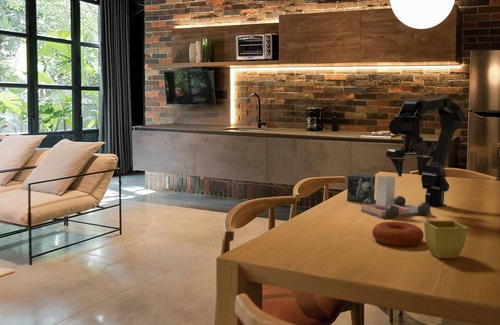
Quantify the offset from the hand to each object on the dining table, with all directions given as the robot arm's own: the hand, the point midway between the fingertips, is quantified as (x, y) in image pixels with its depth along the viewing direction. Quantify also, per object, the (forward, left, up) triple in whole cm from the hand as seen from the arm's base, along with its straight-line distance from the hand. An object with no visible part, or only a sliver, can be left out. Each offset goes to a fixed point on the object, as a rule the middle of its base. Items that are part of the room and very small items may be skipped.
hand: (410, 175), depth 212 cm
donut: (+32, +34, -13) cm, 49 cm away
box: (+6, -22, -13) cm, 26 cm away
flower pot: (+30, +51, -13) cm, 61 cm away
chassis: (+7, +2, -13) cm, 15 cm away
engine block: (+12, +2, -12) cm, 17 cm away
